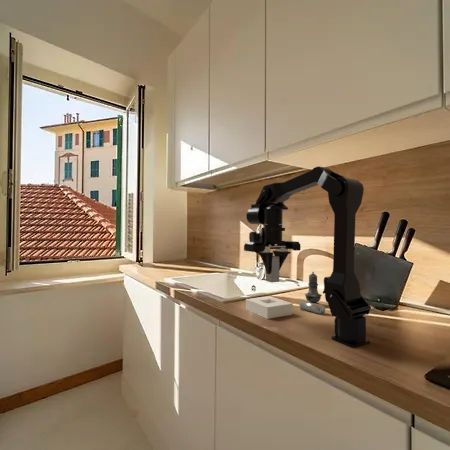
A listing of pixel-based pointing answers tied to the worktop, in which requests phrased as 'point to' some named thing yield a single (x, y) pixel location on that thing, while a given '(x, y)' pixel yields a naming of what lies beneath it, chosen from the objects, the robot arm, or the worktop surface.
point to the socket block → (269, 307)
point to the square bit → (274, 270)
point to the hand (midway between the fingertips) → (272, 273)
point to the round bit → (312, 307)
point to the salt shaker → (313, 290)
